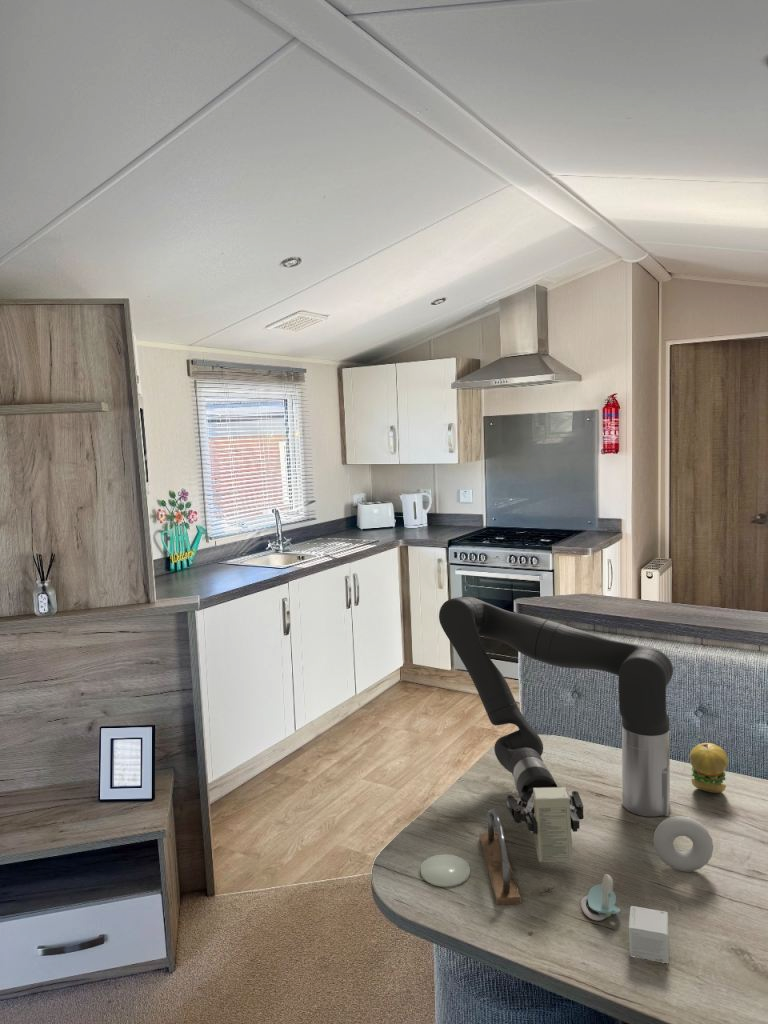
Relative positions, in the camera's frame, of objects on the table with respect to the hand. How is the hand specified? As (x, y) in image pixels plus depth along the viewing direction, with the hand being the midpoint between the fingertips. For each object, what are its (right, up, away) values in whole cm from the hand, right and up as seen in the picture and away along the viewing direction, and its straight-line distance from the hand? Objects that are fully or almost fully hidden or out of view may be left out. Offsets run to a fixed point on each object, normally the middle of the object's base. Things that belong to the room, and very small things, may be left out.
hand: (555, 828), depth 132 cm
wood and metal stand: (-10, -9, +3) cm, 14 cm away
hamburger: (+39, -4, +27) cm, 48 cm away
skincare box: (0, -7, +3) cm, 7 cm away
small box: (+10, -11, -18) cm, 24 cm away
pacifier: (+5, -10, -9) cm, 14 cm away
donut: (+23, -8, +1) cm, 24 cm away
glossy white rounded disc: (-19, -9, +3) cm, 22 cm away
